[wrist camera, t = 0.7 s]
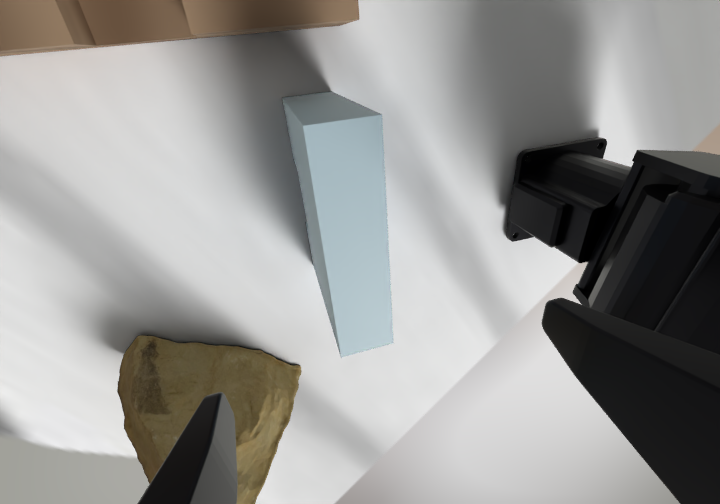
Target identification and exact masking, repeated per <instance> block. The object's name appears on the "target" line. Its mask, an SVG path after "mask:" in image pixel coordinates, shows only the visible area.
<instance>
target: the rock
mask: <svg viewBox="0 0 720 504" xmlns="http://www.w3.org/2000/svg"><path fill="white" fill-rule="evenodd" d="M119 373H120V376H119V381H118V391H117V392H118V394H119V397H120V400H121V403H122V408H123V412H124V416H125V419H124V429H125V431H126V433H127V435H128V438H129V439H130V441H131V442H132V445H133V446H134V448H135V450H136V452H137V458H138V460H139V462H140V463H141V464H142V466H143V469H144V473H145V475H146V476H147V478H148V482H149V483H151V481H152V480H153V478H154V477H155V475H156V473H157V472H158V470H159V469H160V467H161V465H162V464H163V462H164V461H165V459H166V457H167V456H168V454H169V453H170V451H171V449H172V448H173V446H174V445H175V443H176V441H177V440H178V438H179V437H180V435H181V433H182V432H183V430H184V428H185V427H186V425H187V424H188V422H189V420H190V419H191V417H192V416H193V414H194V412H195V411H196V409H197V408H198V406H199V404H200V403H201V401H202V400H203V398H204V397H205V396H207V395H210V394H214V393H218V392H223V393H224V394H225V396H226V398H227V400H228V402H229V404H230V406H231V409H232V411H233V413H234V418H235V435H236V458H237V483H238V486H237V504H255V502H256V499H257V496H258V494H259V493H260V491H261V489H262V487H263V485H264V483H265V480H266V478H267V475H268V472H269V469H270V466H271V463H272V461H273V458H274V456H275V454H276V452H277V447H278V443H279V441H280V439H281V437H282V434H283V431H284V429H285V428H286V426H287V425H288V423H289V420H290V416H291V412H292V409H293V404H294V398H295V395H296V392H297V390H298V386H299V384H298V380H299V376H300V375H301V367H300V366H299V365H294V366H293V365H289V364H287V363H285V362H283V361H280V360H277V359H276V358H275V357H273V356H271V355H269V354H266V353H263V351H261V350H251V349H246V348H241V347H238V346H233V347H231V346H226V345H219V346H214V345H206V344H203V343H175V342H173V341H169V340H167V339H160V338H157V337H155V336H143V335H140V336H137V338H136V339H135V340H134V341H133V343H132V344H131V346H130V347H129V348H128V349H127V350H126V352H125V354H124V356H123V359H122V363H121V366H120V372H119Z"/></svg>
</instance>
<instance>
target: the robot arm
mask: <svg viewBox="0 0 720 504" xmlns="http://www.w3.org/2000/svg"><path fill="white" fill-rule="evenodd" d="M606 145H607V141H606V139H604V138H600V137H596V138H590V139H585V140H579V141H573V142H568V143H562V144H556V145H551V146H545V147H540V148H534V149H528V150H524V151H522V152H521V153H520V154H519V156H518V159H517V165H516V172H515V178H514V185H513V192H512V198H511V205H510V212H509V218H508V225H507V232H506V237H507V238H508V239H509V240H511V241H518V240H523V239H527V238H531V237H535V238H537V239H538V240H540V241H541V242H543V243H545V244H546V245H548V246H549V247H555V248H556V249H558V250H560V251H561V252H563V253H564V254H566V255H568V256H569V257H571V258H572V259H574V260H575V261H577V262H579V263H583V262H588V263H587V266H586V268H585V270H584V272H583V274H582V276H581V279H580V281H579V283H578V284H576V286H575V288H574V290H573V294H574V295H575V296H576V298H577V299H578V300H579V301H580V303H581V304H582V305H581V304H578V303H575V302H573V301H570V300H567V299H564V298H557V299H554V300H550V301H548V302H547V303H546V306H545V310H544V314H543V319H542V327H543V329H544V331H545V333H546V334H547V336H548V337H549V339H550V340H551V341H552V343H553V344H554V346H555V347H556V348H557V350H558V352H559V353H560V355H561V356H562V358H563V359H564V361H565V362H566V363H567V365H568V366H569V368H570V369H571V371H572V372H573V373H574V375H575V376H576V378H577V379H578V380H579V381H580V383H581V384H582V385H583V386H584V387H585V389H586V390H587V391H588V392H589V394H590V395H591V396H592V397H593V398H594V400H595V401H596V402H597V403H598V405H599V406H600V407H601V408H602V409H603V411H604V412H605V413H606V414H607V415H608V417H609V418H610V419H611V420H612V421H613V423H614V424H615V425H616V426H617V427H618V429H619V430H620V431H621V432H622V434H623V435H624V436H625V437H626V438H627V440H628V441H629V442H630V443H631V444H632V446H633V447H634V448H635V449H636V450H637V452H638V453H639V454H640V455H641V457H642V458H643V459H644V460H645V461H646V463H647V464H648V465H649V466H650V467H651V469H652V470H653V471H654V472H655V474H656V475H657V476H658V477H659V478H660V480H661V481H662V482H663V483H664V484H665V486H666V487H667V488H668V489H669V490H670V492H671V493H672V494H673V495H674V496H675V498H676V499H677V500H678V501H679V503H680V504H720V155H716V154H710V153H705V152H694V151H658V150H637V151H636V154H635V156H634V158H633V160H632V161H634V163H633V165H632V167H628V166H625V165H622V164H618V163H615V162H612V161H608V160H605V159H603V156H604V152H605V149H606ZM527 156H528V158H527V160H526V161H525V158H526V157H527ZM514 233H515V234H514ZM513 234H514V235H513ZM237 486H238V483H237V458H236V435H235V418H234V413H233V411H232V409H231V406H230V404H229V402H228V400H227V398H226V396H225V394H224V393H223V392H218V393H214V394H210V395H207V396H205V397H204V398H203V400H202V401H201V403H200V404H199V406H198V408H197V409H196V411H195V412H194V414H193V416H192V417H191V419H190V420H189V422H188V424H187V425H186V427H185V428H184V430H183V432H182V433H181V435H180V437H179V438H178V440H177V441H176V443H175V445H174V446H173V448H172V449H171V451H170V453H169V454H168V456H167V457H166V459H165V461H164V462H163V464H162V465H161V467H160V469H159V470H158V472H157V473H156V475H155V477H154V478H153V480H152V481H151V483H150V485H149V486H148V488H147V489H146V491H145V493H144V494H143V496H142V497H141V499H140V501H139V502H138V504H237Z"/></svg>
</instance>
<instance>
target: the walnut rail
mask: <svg viewBox="0 0 720 504" xmlns="http://www.w3.org/2000/svg"><path fill="white" fill-rule="evenodd" d="M356 20H359V7H358V0H0V56H8V55H20V54H31V53H42V52H53V51H64V50H75V49H86V48H97V47H108V46H119V45H130V44H141V43H152V42H164V41H175V40H186V39H197V38H208V37H219V36H230V35H241V34H252V33H263V32H274V31H285V30H296V29H308V28H319V27H330V26H340V25H343V24H346V23H349V22H353V21H356Z"/></svg>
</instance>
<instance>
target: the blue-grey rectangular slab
mask: <svg viewBox="0 0 720 504" xmlns="http://www.w3.org/2000/svg"><path fill="white" fill-rule="evenodd" d="M282 99H283V105H284V110H285V115H286V121H287V126H288V132H289V137H290V142H291V148H292V153H293V158H294V162H295V164H296V167H297V170H298V176H299V181H300V187H301V192H302V198H303V203H304V208H305V214H306V219H307V222H306V228H307V233H308V239H309V244H310V249H311V255H312V260H313V265H314V269H315V272H316V276H317V279H318V282H319V286H320V289H321V292H322V296H323V299H324V302H325V306H326V309H327V312H328V316H329V319H330V322H331V326H332V329H333V332H334V336H335V339H336V342H337V346H338V349H339V352H340V356H341V357H345V356H348V355H352V354H356V353H359V352H363V351H367V350H370V349H374V348H378V347H381V346H385V345H388V344H392V343H393V323H392V303H391V284H390V264H389V244H388V224H387V204H386V184H385V164H384V145H383V125H382V114H380V113H377V112H375V111H373V110H371V109H369V108H367V107H364V106H362V105H360V104H358V103H356V102H353V101H351V100H349V99H347V98H345V97H343V96H340V95H338V94H336V93H334V92H332V91H331V92H323V93H315V94H308V95H300V96H292V97H284V98H282Z"/></svg>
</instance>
